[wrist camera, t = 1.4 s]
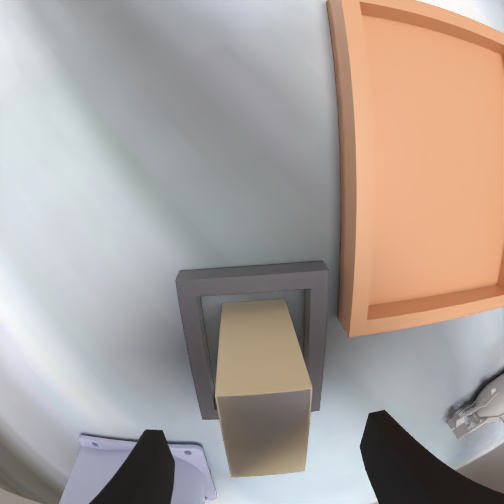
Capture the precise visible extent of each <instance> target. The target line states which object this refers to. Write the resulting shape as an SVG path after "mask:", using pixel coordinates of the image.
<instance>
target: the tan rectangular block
mask: <svg viewBox="0 0 504 504" xmlns="http://www.w3.org/2000/svg"><path fill="white" fill-rule="evenodd" d="M215 398H216V404H217V409H218V415H219V420H220V425H221V430H222V436H223V441H224V445H225V450H226V455H227V460H228V465H229V469H230V474H231V477H247V476H263V475H274V474H284V473H293V472H301V471H305V463H306V454H307V445H308V435H309V425H310V413H311V401H312V385H311V381H310V378H309V375H308V372H307V368H306V365H305V362H304V359H303V355H302V352H301V349H300V346H299V343H298V339H297V336H296V333H295V330H294V327H293V323H292V320H291V317H290V314H289V311H288V308H287V304H286V301H285V299H273V300H260V301H246V302H230V303H222V311H221V323H220V335H219V348H218V361H217V375H216V389H215Z"/></svg>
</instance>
